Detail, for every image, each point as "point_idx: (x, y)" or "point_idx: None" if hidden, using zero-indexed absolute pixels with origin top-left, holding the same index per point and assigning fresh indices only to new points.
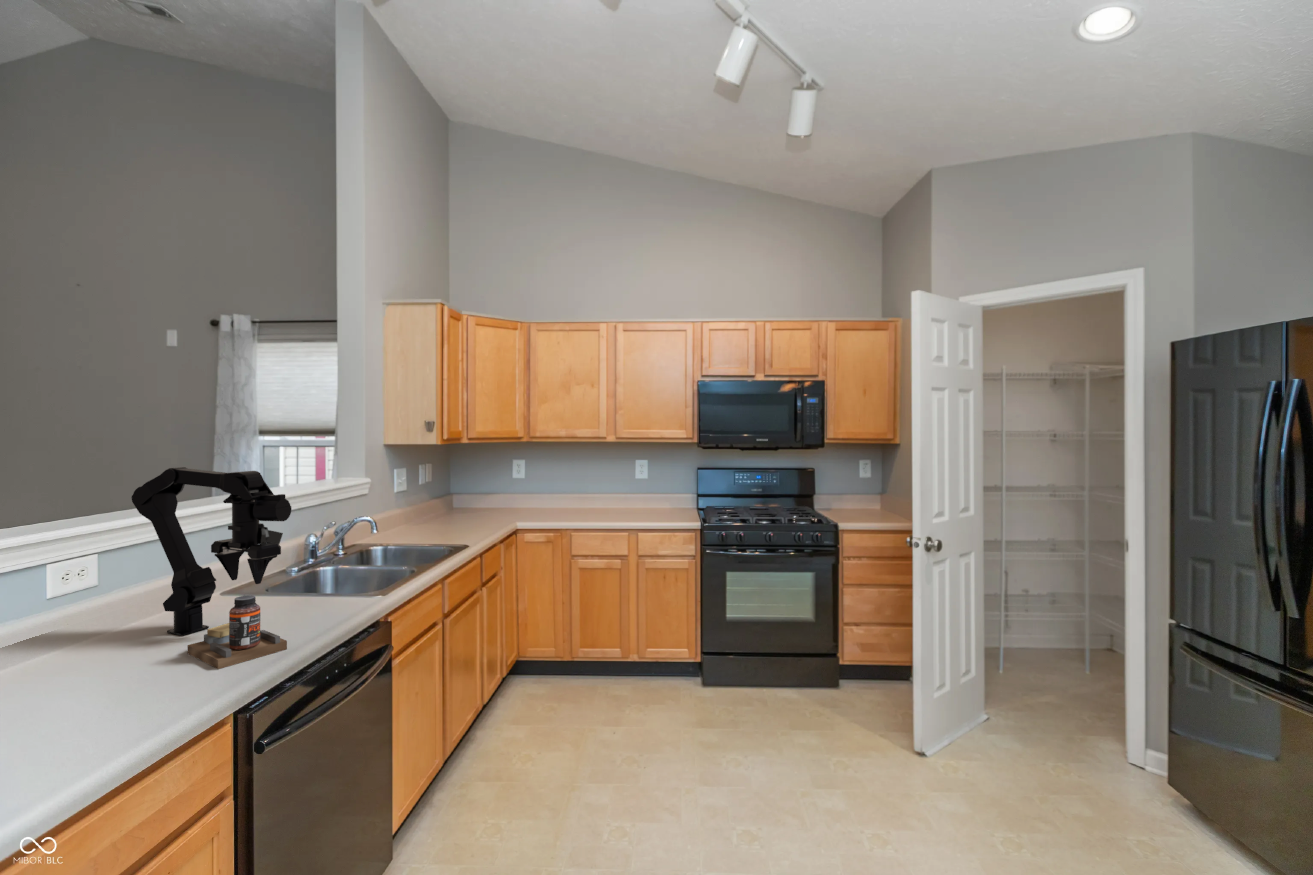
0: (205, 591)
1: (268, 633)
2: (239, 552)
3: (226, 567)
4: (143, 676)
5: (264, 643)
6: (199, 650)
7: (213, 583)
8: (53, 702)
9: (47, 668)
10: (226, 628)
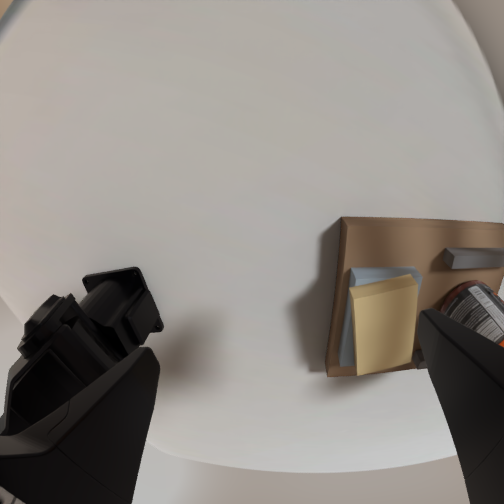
0: (104, 368)
1: (487, 262)
2: (18, 490)
3: (139, 465)
4: (372, 414)
5: (487, 272)
6: (390, 370)
7: (59, 349)
8: (353, 459)
9: (201, 449)
10: (401, 346)
